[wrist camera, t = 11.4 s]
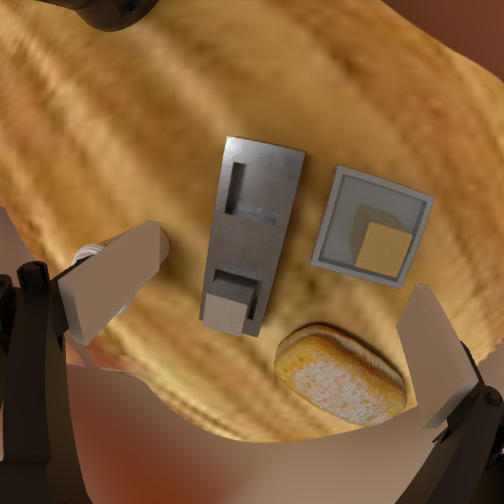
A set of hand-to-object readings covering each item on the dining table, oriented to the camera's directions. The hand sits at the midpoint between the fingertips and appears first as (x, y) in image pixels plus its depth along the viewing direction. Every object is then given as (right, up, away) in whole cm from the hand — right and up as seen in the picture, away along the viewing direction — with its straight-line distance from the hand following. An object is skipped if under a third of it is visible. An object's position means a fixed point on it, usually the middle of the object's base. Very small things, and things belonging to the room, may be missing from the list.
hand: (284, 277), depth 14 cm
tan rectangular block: (+14, +4, +21) cm, 26 cm away
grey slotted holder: (-2, +3, +26) cm, 26 cm away
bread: (+15, -19, +32) cm, 40 cm away
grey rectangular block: (-3, -4, +28) cm, 28 cm away
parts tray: (+14, +5, +22) cm, 26 cm away
